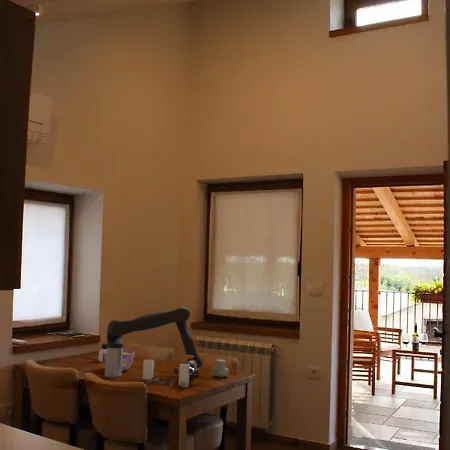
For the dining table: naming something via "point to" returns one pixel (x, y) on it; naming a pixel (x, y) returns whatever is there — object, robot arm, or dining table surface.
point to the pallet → (158, 381)
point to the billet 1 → (148, 370)
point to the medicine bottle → (101, 354)
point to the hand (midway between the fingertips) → (184, 373)
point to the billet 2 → (184, 375)
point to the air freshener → (220, 369)
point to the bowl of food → (124, 358)
